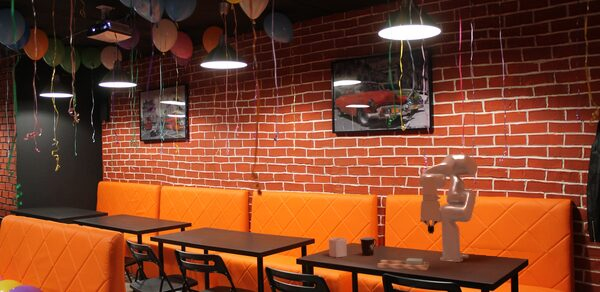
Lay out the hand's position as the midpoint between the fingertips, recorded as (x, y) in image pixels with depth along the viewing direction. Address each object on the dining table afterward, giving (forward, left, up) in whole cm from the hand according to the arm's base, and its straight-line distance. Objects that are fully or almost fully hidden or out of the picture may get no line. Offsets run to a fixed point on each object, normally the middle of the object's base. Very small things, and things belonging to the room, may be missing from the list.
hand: (431, 233), depth 278 cm
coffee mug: (+40, -32, -19) cm, 55 cm away
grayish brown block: (+9, 0, -18) cm, 20 cm away
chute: (+15, 0, -19) cm, 24 cm away
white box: (+58, -25, -19) cm, 66 cm away
